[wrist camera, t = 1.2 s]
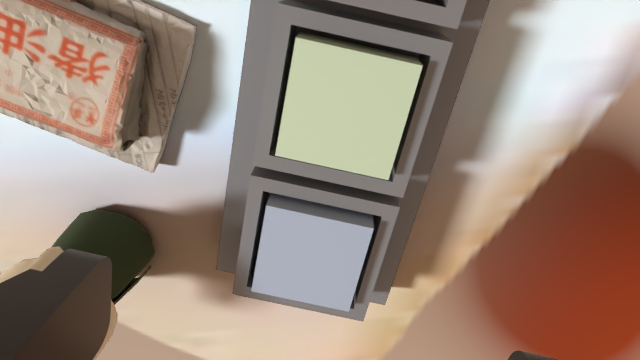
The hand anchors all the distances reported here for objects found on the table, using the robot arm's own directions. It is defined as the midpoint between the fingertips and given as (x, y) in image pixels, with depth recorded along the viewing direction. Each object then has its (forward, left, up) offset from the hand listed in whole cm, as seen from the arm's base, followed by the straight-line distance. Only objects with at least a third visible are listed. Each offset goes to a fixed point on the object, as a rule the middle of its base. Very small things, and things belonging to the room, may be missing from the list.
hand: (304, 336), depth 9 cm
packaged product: (+1, -18, -21) cm, 28 cm away
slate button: (+9, 0, -17) cm, 19 cm away
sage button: (0, 0, -17) cm, 17 cm away
